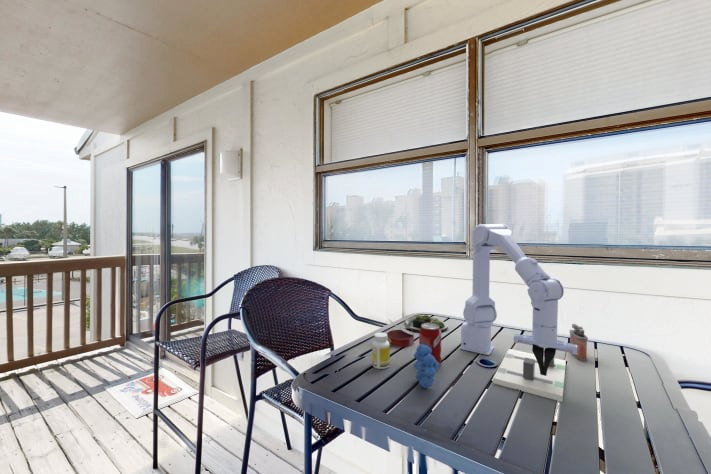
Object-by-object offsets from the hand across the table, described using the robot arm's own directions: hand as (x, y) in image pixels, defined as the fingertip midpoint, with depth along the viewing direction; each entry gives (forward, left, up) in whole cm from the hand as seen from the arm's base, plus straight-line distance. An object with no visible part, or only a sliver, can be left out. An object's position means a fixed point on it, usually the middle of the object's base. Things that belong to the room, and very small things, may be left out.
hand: (543, 373), depth 85 cm
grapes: (-25, -18, -4) cm, 31 cm away
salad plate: (-45, +28, -4) cm, 53 cm away
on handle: (+1, +12, -2) cm, 12 cm away
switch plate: (-3, +6, -3) cm, 8 cm away
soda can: (-30, -4, -4) cm, 31 cm away
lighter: (+8, +28, -4) cm, 29 cm away
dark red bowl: (-46, +7, -4) cm, 47 cm away
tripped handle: (-3, 0, -2) cm, 4 cm away
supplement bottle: (-42, -14, -4) cm, 45 cm away
